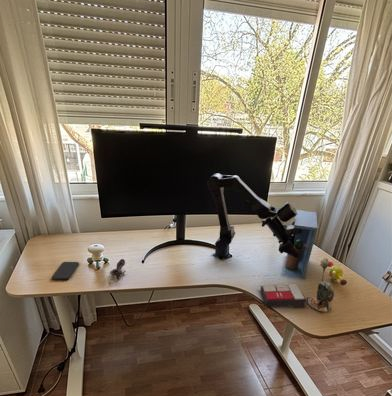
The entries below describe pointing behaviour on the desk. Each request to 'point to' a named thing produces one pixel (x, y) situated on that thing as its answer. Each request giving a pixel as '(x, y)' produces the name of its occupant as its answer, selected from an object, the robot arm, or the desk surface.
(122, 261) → the dark squid figurine
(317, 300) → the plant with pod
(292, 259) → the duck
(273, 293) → the red and grey box
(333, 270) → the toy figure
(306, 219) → the cubby
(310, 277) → the desk surface
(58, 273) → the phone
